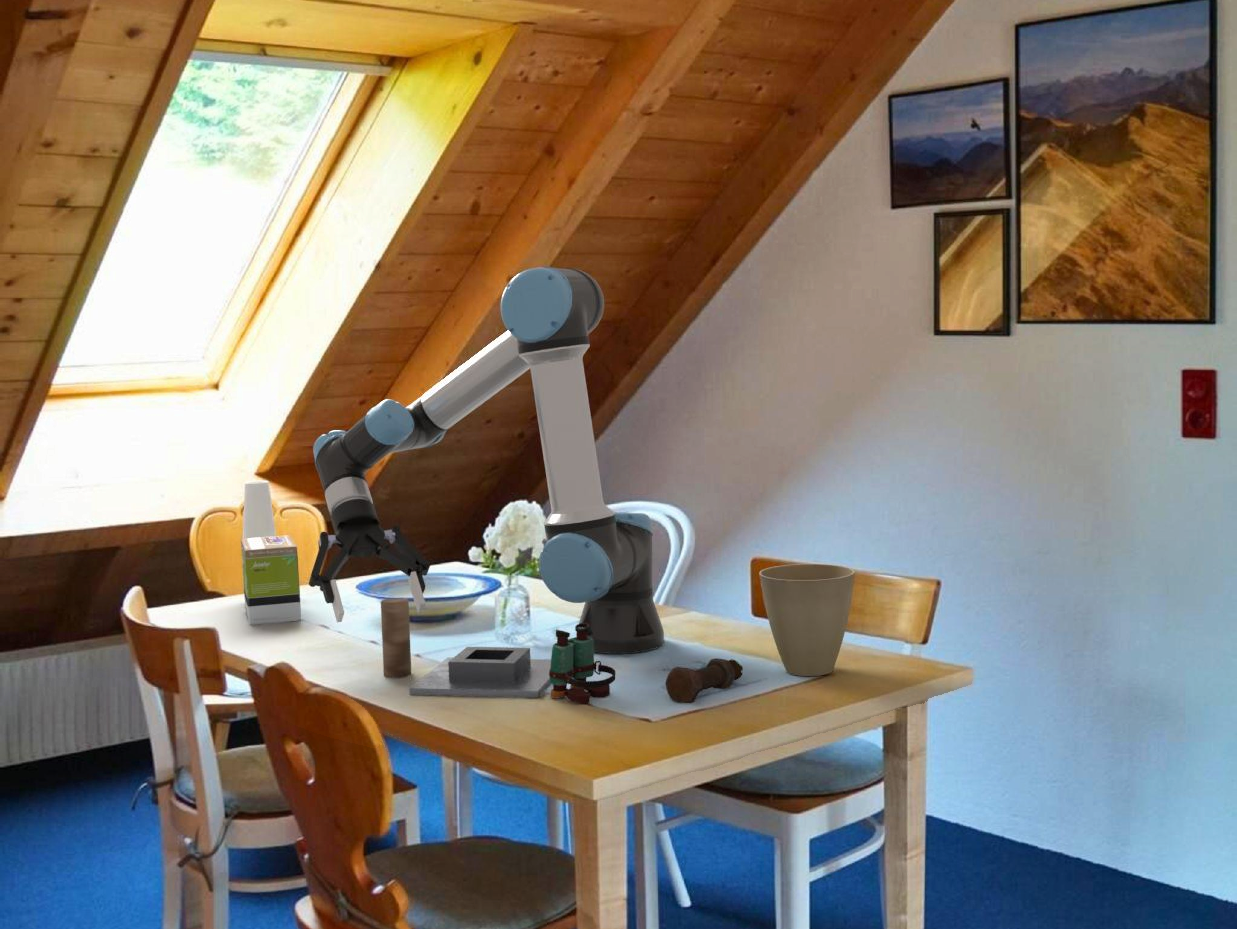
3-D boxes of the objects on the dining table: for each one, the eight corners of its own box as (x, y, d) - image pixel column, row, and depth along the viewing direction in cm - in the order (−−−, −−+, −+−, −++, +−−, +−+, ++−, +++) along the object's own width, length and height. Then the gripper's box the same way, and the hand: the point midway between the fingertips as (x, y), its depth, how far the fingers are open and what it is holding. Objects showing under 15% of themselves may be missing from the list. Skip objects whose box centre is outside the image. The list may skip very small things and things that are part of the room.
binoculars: (592, 643, 212) (540, 628, 218) (588, 714, 214) (537, 697, 220) (631, 632, 219) (580, 618, 225) (627, 700, 221) (577, 684, 227)
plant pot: (826, 656, 243) (825, 560, 241) (873, 676, 229) (873, 574, 227) (744, 666, 237) (743, 568, 236) (787, 687, 223) (786, 583, 222)
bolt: (739, 693, 228) (683, 712, 216) (716, 673, 230) (659, 691, 218) (755, 663, 226) (700, 681, 214) (731, 644, 228) (675, 660, 216)
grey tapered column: (283, 597, 304) (277, 482, 302) (251, 601, 301) (245, 484, 299) (273, 592, 310) (267, 479, 308) (241, 596, 307) (235, 481, 304)
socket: (566, 665, 240) (565, 641, 240) (537, 697, 221) (537, 671, 220) (448, 663, 244) (447, 639, 243) (409, 694, 224) (408, 668, 224)
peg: (415, 671, 239) (412, 598, 237) (406, 678, 234) (403, 603, 233) (388, 670, 239) (386, 598, 238) (379, 677, 235) (376, 603, 234)
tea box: (243, 611, 292) (239, 537, 290) (295, 607, 295) (291, 533, 293) (248, 625, 278) (244, 548, 276) (302, 621, 281) (299, 544, 279)
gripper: (417, 518, 260) (449, 617, 248) (275, 530, 249) (302, 634, 237) (426, 491, 254) (459, 591, 242) (282, 502, 243) (309, 607, 231)
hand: (381, 613), depth 240 cm, fingers open, 13 cm apart
